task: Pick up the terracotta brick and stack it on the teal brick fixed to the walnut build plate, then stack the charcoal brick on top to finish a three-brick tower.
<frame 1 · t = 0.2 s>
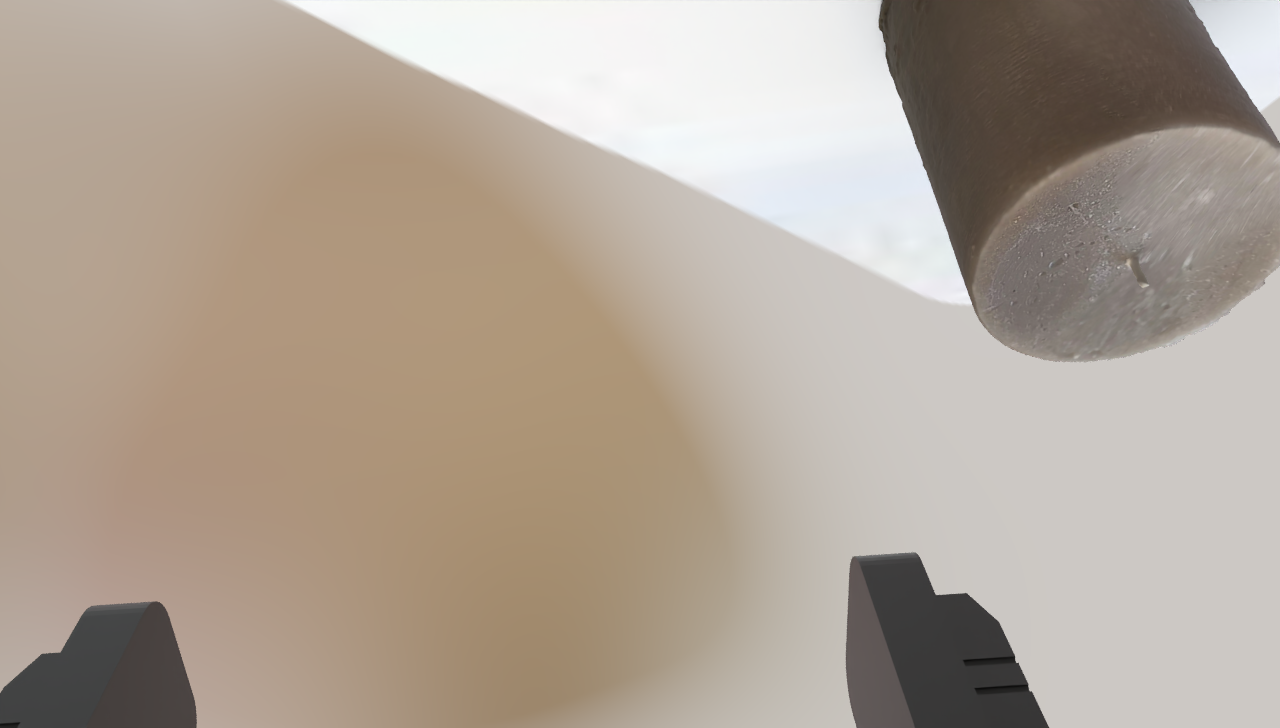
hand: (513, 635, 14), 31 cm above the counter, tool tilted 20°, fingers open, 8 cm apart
pillar candle: (1011, 0, 43), on the counter
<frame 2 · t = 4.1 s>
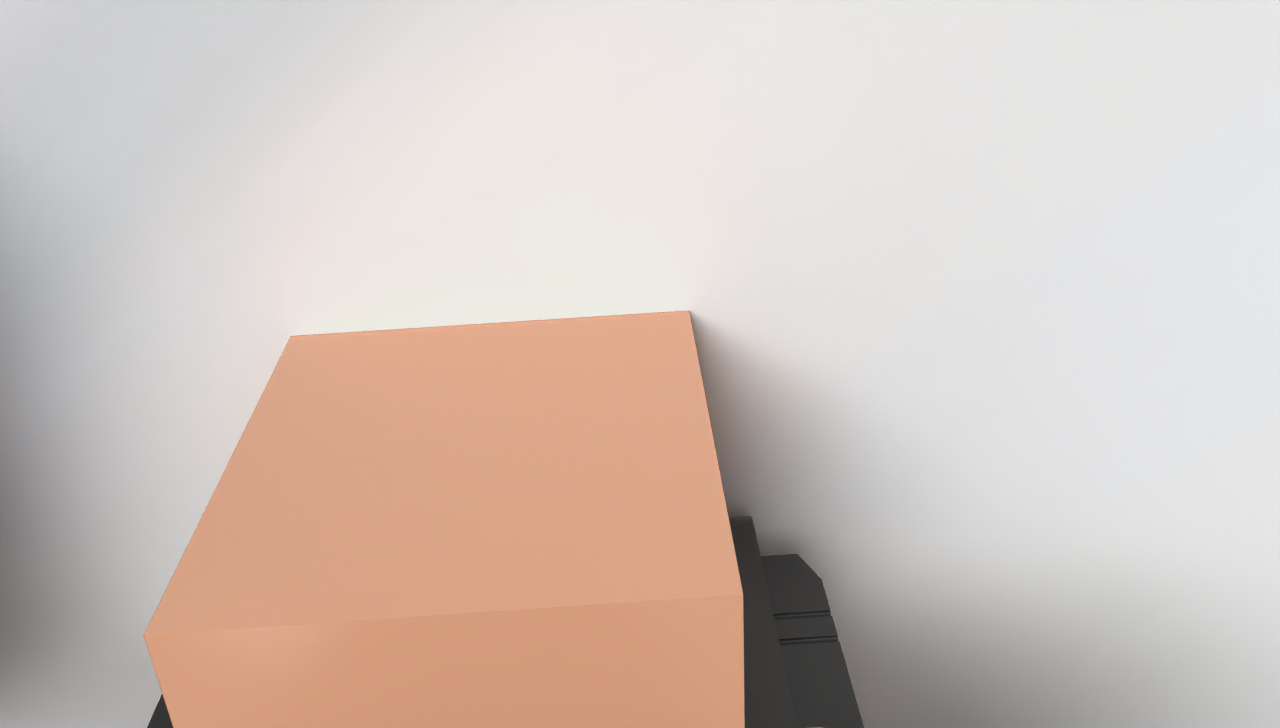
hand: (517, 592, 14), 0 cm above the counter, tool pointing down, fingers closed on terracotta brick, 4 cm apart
terracotta brick: (520, 570, 15), on the counter, touching gripper
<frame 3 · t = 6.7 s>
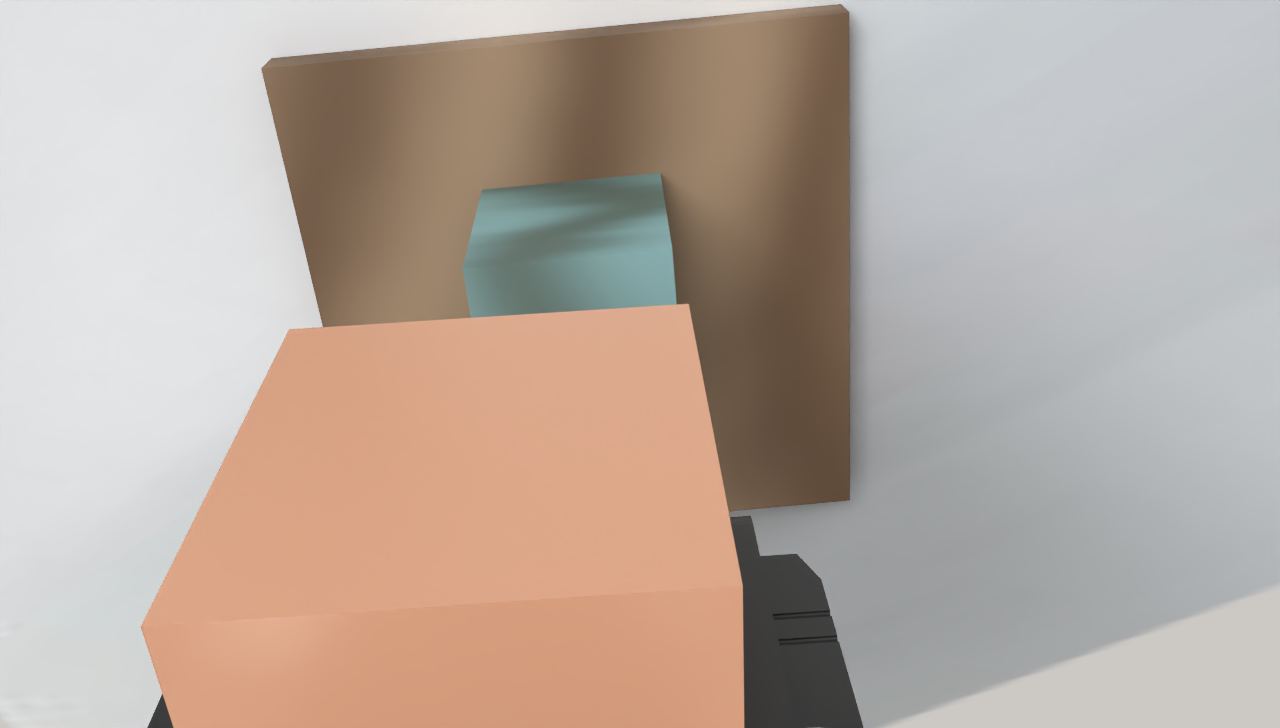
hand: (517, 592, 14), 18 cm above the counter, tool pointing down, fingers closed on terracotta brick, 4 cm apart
terracotta brick: (520, 565, 15), point 17 cm above the counter, touching gripper
build plate: (586, 291, 32), on the counter
when the fingers open (8 cm above the counter, at t = 9.2 s): terracotta brick drops 1 cm, resting on build plate.
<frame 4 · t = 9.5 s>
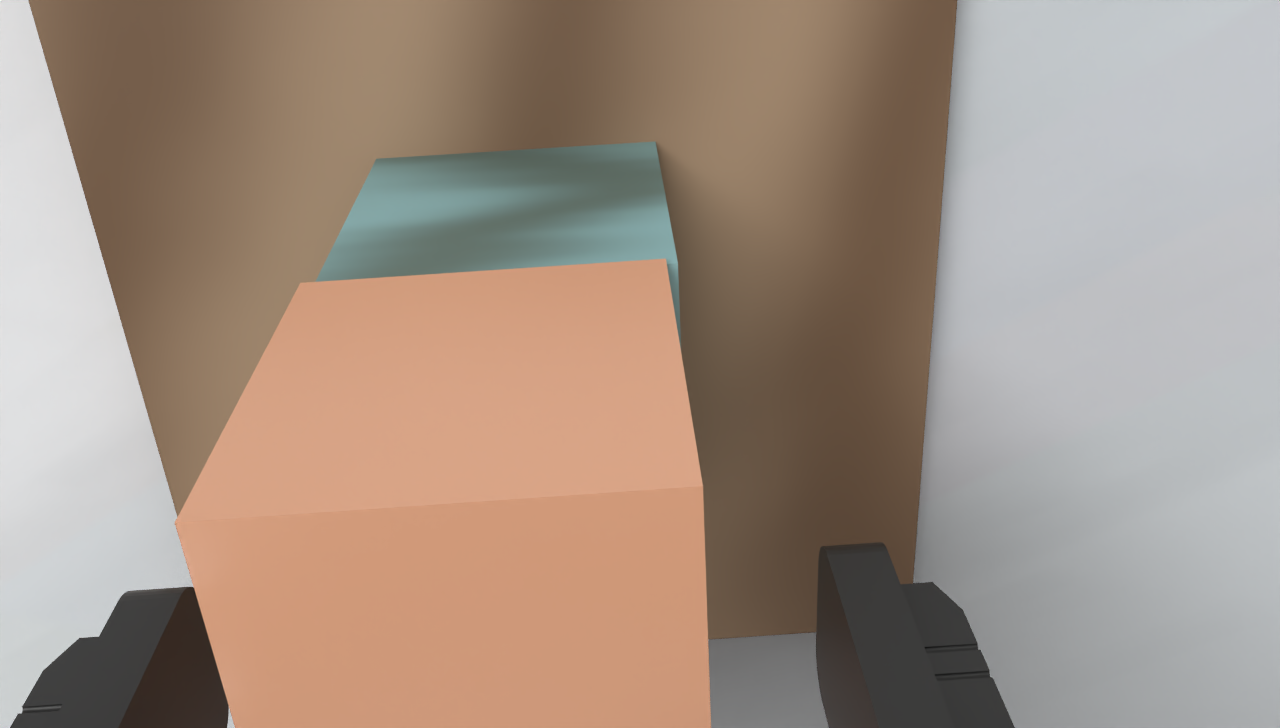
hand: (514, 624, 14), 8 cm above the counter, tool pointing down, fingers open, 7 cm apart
terracotta brick: (513, 505, 16), point 6 cm above the counter, touching build plate
build plate: (537, 318, 21), on the counter
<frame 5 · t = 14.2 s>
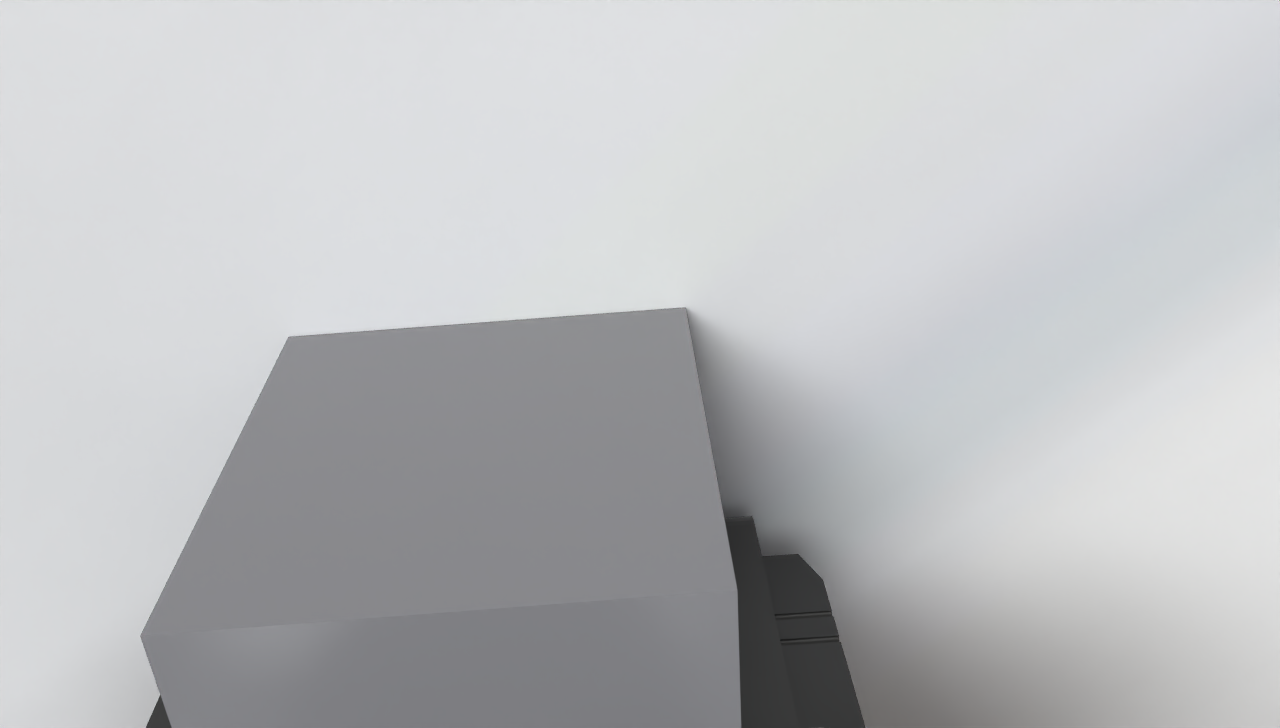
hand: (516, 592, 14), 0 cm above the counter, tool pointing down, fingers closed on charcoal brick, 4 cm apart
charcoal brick: (521, 568, 15), on the counter, touching gripper
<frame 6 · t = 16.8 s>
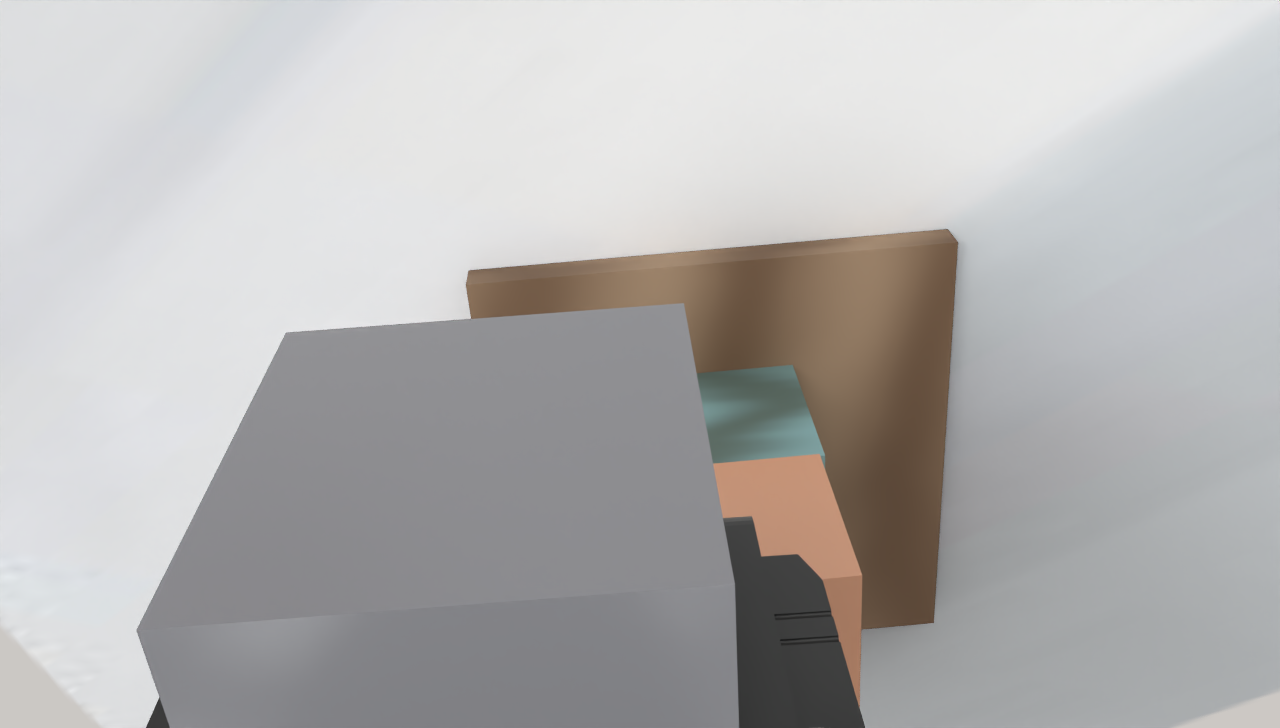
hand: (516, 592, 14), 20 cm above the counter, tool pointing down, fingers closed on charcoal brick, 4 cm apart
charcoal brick: (519, 565, 15), point 19 cm above the counter, touching gripper
terracotta brick: (737, 568, 32), point 6 cm above the counter, touching build plate
build plate: (718, 452, 37), on the counter
when the fingers open (13 cm above the counter, at t = 19.5 s): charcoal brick drops 1 cm, resting on terracotta brick.
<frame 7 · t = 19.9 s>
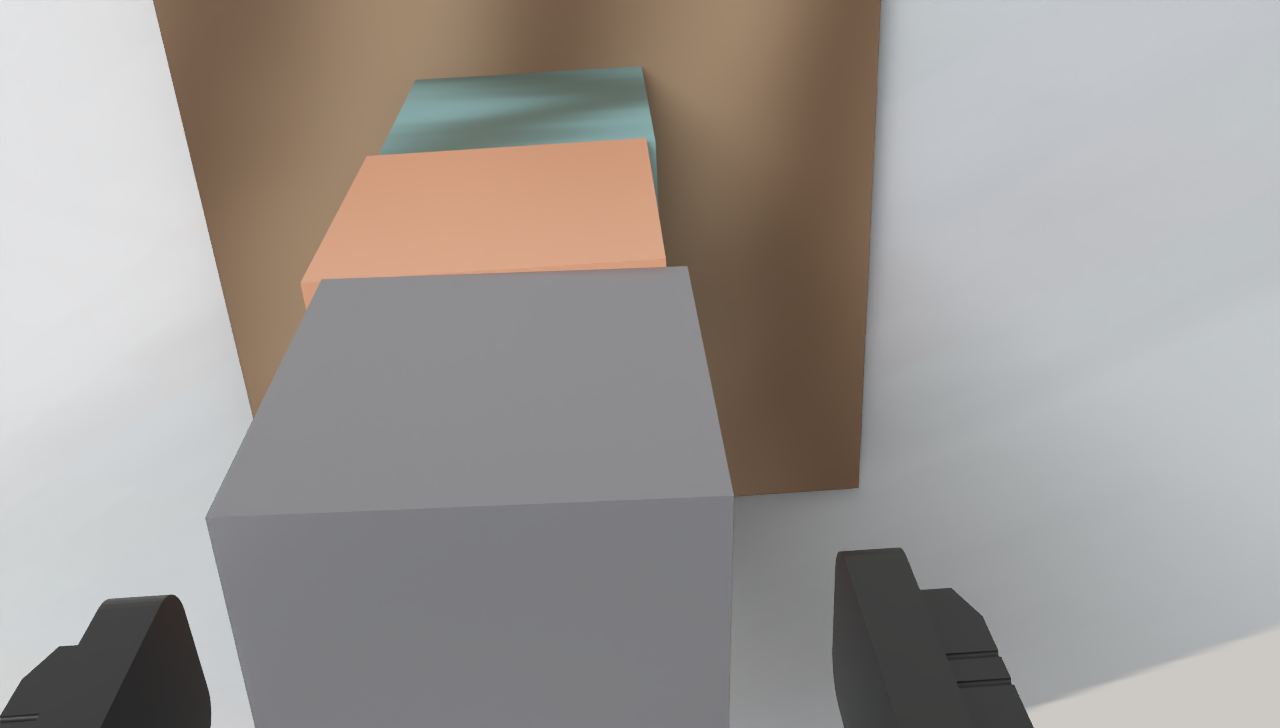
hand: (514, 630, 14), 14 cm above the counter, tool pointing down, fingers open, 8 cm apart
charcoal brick: (524, 506, 16), point 11 cm above the counter, touching terracotta brick
terracotta brick: (528, 340, 20), point 6 cm above the counter, touching build plate, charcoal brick
build plate: (545, 220, 26), on the counter
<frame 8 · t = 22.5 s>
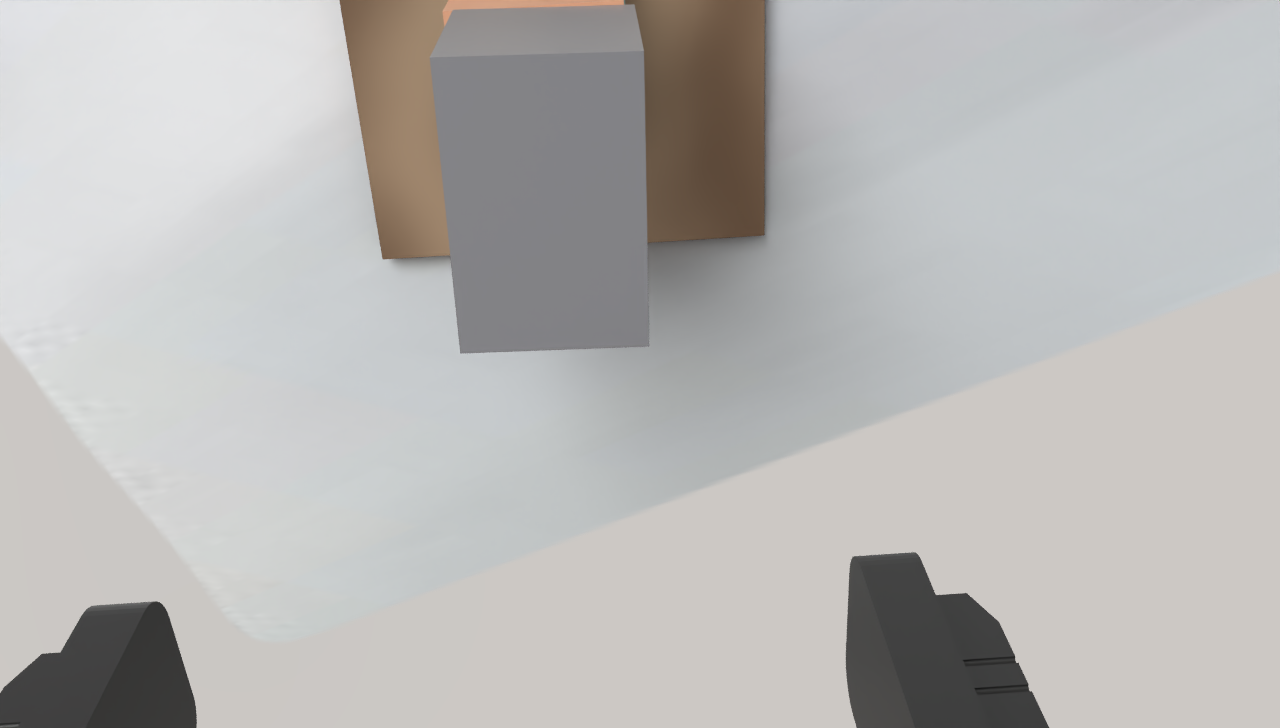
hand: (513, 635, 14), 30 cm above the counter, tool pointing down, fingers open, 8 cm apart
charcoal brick: (551, 144, 31), point 11 cm above the counter, touching terracotta brick
terracotta brick: (550, 92, 35), point 6 cm above the counter, touching build plate, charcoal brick
build plate: (558, 48, 40), on the counter
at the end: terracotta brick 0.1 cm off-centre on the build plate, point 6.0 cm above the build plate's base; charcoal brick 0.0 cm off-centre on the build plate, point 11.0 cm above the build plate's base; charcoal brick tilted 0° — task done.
